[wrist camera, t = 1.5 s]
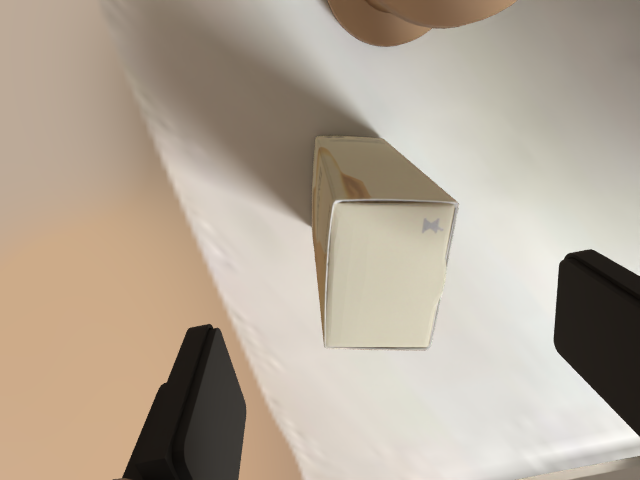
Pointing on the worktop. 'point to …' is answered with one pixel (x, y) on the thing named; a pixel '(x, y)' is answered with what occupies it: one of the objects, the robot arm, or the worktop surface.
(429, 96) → the worktop surface
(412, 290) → the skincare box
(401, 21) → the wooden mushroom
